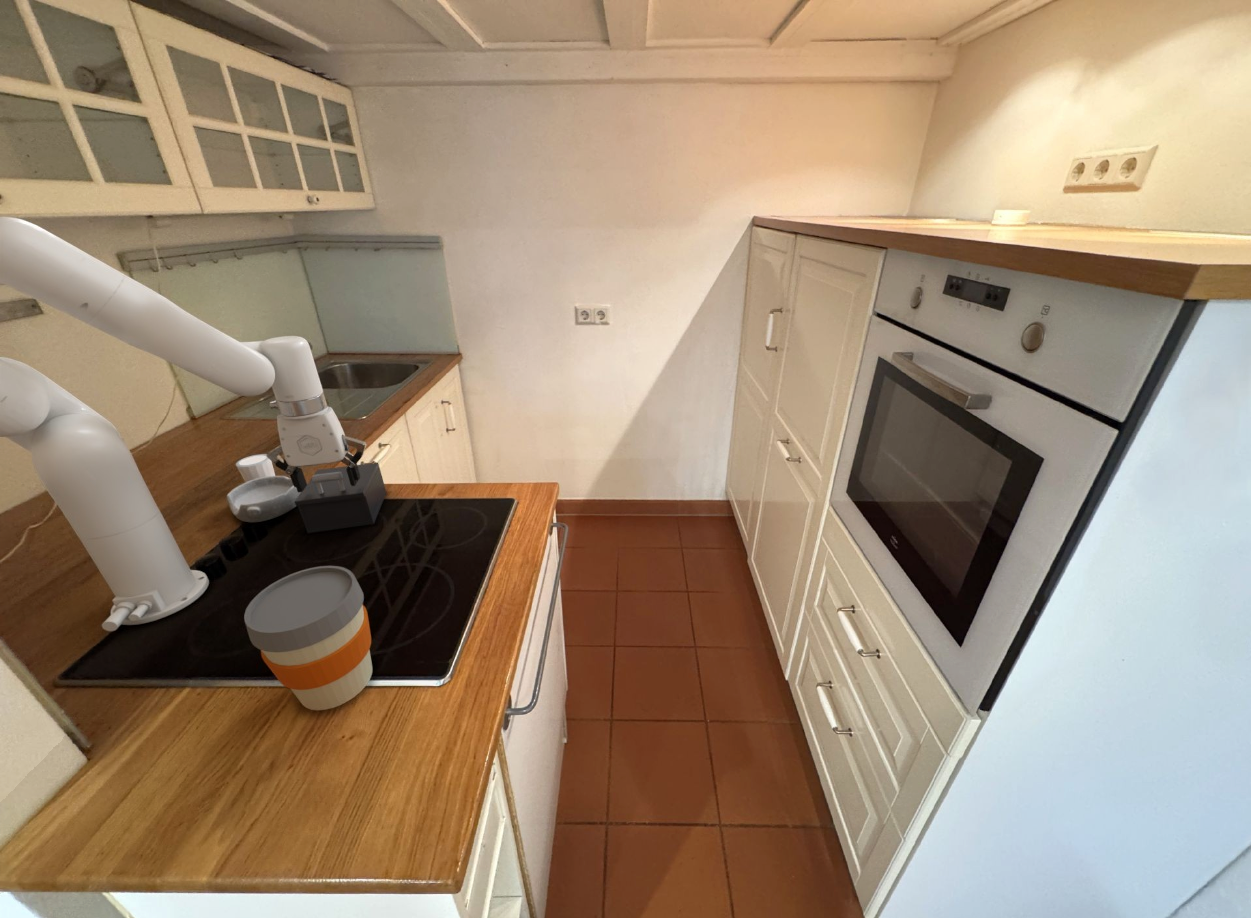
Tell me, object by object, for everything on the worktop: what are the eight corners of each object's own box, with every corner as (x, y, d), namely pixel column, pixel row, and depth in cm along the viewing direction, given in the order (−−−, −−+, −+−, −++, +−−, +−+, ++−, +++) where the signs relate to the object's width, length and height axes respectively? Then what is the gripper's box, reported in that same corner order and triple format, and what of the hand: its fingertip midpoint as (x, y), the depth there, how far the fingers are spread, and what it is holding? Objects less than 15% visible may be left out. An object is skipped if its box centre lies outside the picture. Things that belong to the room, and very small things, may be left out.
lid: (364, 496, 100) (357, 474, 98) (295, 505, 98) (287, 483, 96) (379, 466, 113) (373, 445, 110) (318, 473, 110) (311, 452, 108)
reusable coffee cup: (401, 645, 74) (376, 564, 67) (358, 723, 62) (322, 634, 56) (318, 645, 74) (285, 564, 68) (261, 723, 63) (214, 634, 56)
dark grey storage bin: (373, 524, 104) (365, 495, 101) (307, 533, 101) (296, 504, 98) (386, 492, 116) (379, 466, 113) (327, 500, 113) (318, 473, 110)
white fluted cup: (240, 489, 119) (229, 463, 116) (269, 476, 125) (259, 451, 122) (256, 495, 116) (245, 468, 113) (286, 482, 122) (276, 456, 119)
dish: (264, 529, 103) (256, 508, 101) (216, 520, 107) (206, 500, 105) (321, 495, 115) (315, 476, 113) (276, 488, 119) (269, 469, 117)
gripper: (241, 416, 87) (273, 501, 95) (348, 407, 91) (371, 489, 98) (259, 403, 94) (288, 483, 101) (358, 394, 97) (379, 472, 105)
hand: (329, 486), depth 100 cm, fingers open, 9 cm apart
